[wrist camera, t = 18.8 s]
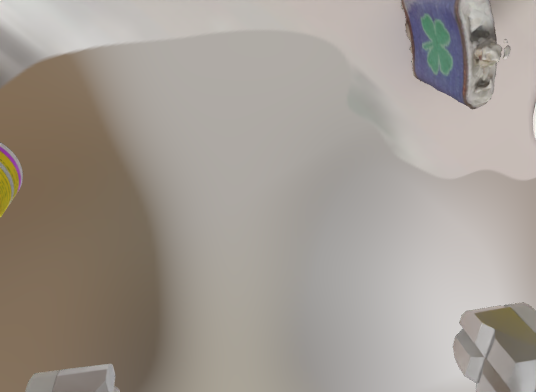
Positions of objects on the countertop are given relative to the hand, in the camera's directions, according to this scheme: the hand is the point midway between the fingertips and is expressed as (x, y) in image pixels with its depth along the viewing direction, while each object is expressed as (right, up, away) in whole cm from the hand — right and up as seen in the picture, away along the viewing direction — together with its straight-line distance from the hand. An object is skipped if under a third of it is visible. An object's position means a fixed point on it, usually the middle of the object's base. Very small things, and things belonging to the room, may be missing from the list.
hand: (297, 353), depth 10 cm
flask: (+13, +18, +29) cm, 37 cm away
